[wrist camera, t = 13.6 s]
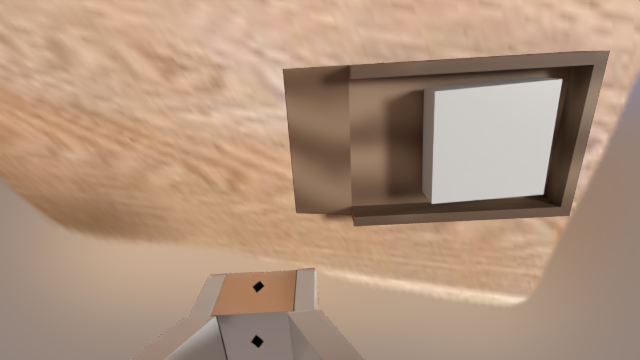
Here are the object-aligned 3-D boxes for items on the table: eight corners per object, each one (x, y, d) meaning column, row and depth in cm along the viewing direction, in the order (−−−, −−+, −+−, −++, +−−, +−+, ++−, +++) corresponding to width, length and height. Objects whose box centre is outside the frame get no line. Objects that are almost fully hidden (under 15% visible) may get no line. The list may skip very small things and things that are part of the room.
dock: (283, 68, 31) (278, 70, 27) (573, 51, 30) (610, 50, 26) (296, 210, 36) (294, 229, 32) (542, 198, 35) (569, 215, 32)
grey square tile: (420, 87, 30) (434, 91, 26) (531, 76, 29) (562, 79, 26) (419, 187, 33) (431, 203, 29) (518, 178, 33) (543, 194, 29)
